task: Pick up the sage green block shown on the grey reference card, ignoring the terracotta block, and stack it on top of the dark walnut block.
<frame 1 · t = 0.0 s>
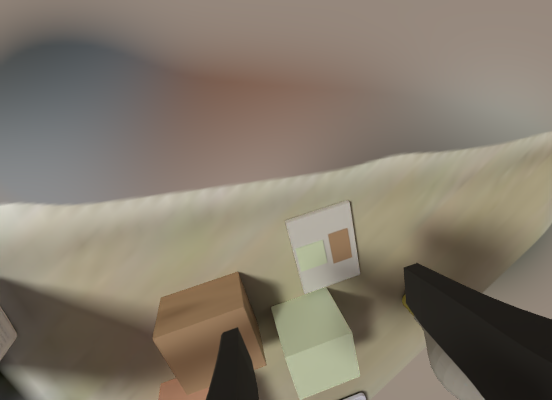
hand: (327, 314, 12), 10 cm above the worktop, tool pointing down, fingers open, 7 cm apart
reference card: (324, 247, 23), on the worktop
light bulb: (407, 292, 27), on the worktop
terracotta block: (199, 389, 26), on the worktop
walnut block: (212, 310, 23), on the worktop
sage block: (304, 316, 26), on the worktop
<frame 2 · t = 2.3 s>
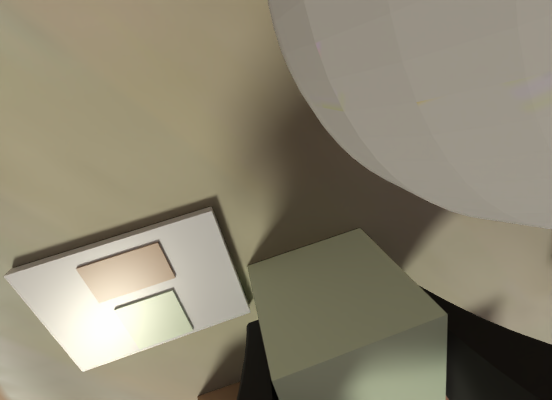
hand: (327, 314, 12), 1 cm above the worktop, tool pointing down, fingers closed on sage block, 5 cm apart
reference card: (144, 289, 11), on the worktop
light bulb: (307, 33, 9), on the worktop
sage block: (315, 291, 13), on the worktop, touching gripper
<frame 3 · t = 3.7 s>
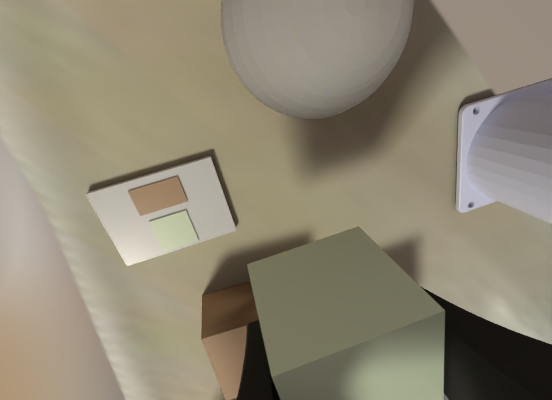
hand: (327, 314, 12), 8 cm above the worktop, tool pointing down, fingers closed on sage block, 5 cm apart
reference card: (167, 211, 17), on the worktop
light bulb: (267, 47, 15), on the worktop
walnut block: (252, 312, 22), on the worktop
sage block: (314, 289, 13), point 7 cm above the worktop, touching gripper
when the fingers open (7 cm above the worktop, at t = 5.4 s): sage block drops 2 cm, resting on walnut block.
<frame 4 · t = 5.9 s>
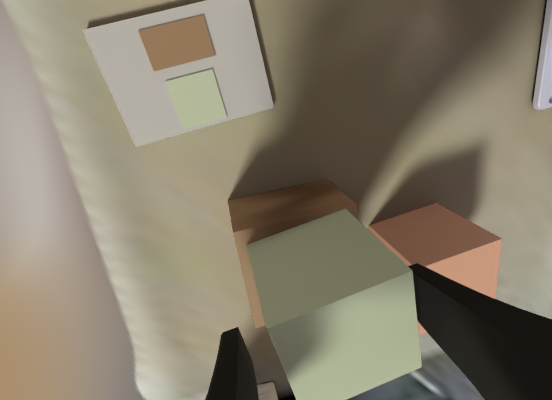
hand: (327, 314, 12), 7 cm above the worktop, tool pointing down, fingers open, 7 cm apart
reference card: (188, 73, 14), on the worktop
terracotta block: (403, 243, 21), on the worktop
walnut block: (284, 232, 18), on the worktop, touching sage block
sage block: (308, 267, 15), point 4 cm above the worktop, touching walnut block
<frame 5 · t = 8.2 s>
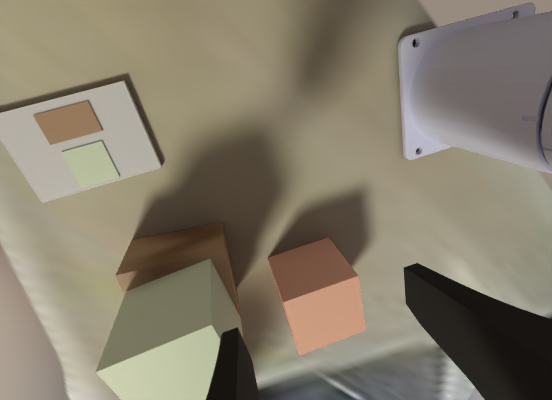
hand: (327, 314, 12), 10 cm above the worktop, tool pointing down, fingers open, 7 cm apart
reference card: (83, 143, 16), on the worktop
terracotta block: (304, 271, 24), on the worktop
walnut block: (188, 265, 21), on the worktop
sage block: (187, 305, 18), point 4 cm above the worktop
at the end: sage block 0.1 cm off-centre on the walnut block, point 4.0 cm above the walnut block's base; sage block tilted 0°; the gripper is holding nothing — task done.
